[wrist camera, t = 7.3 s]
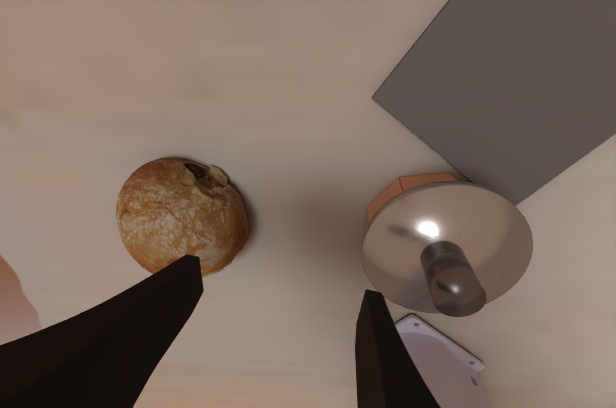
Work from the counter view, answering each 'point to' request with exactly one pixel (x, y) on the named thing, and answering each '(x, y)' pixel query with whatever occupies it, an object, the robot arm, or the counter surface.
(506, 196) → the plate
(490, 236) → the lid
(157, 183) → the bread roll
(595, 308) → the counter surface
